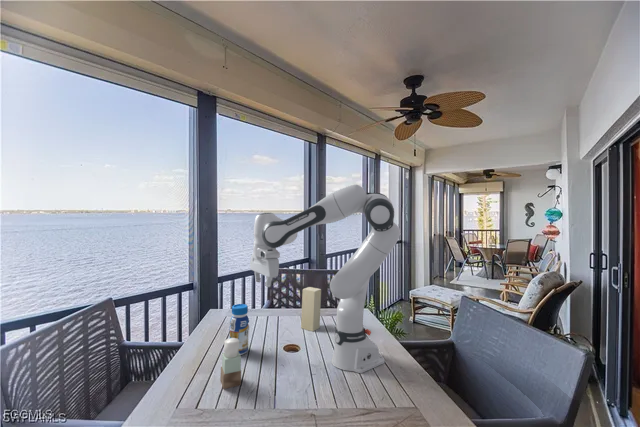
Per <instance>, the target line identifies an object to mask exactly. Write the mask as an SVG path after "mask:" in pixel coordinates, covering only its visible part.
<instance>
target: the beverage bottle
mask: <svg viewBox="0 0 640 427" xmlns="http://www.w3.org/2000/svg"><path fill="white" fill-rule="evenodd" d="M248 310H249V306H248V305H247V304H245V303H237V304H233V305H232V307H231V315H232V316H231V318H230V320H229V329H228V330H229V338H237V339H239V354H240V356H241V355H244V354H247V353H248V351H249V330H250V325H249V323H250V320H249V316H248V312H249V311H248Z"/></svg>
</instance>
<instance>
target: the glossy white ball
mask: <svg viewBox="0 0 640 427" xmlns="http://www.w3.org/2000/svg"><path fill="white" fill-rule="evenodd" d="M223 346H224V348H223V351H224V352H223V353H224V357H226V358H234V357H237V356H238V355H239V339H237V338H230V337H229V338H226V339H225V340H224V345H223Z"/></svg>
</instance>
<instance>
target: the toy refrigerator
mask: <svg viewBox="0 0 640 427" xmlns="http://www.w3.org/2000/svg"><path fill="white" fill-rule="evenodd" d="M321 301H322V289H321V288H317V287H313V286H307V287H305V288H303V289H302V299H301V317H300V318H301V319H300V320H301V321H300V322H301V323H300V326H301V327H300V328H301V329H302V330H306V331H309V332H315V331H317V330H319V329H320V327H321V326H320V325H321V304H322V302H321Z"/></svg>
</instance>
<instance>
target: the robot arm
mask: <svg viewBox="0 0 640 427" xmlns="http://www.w3.org/2000/svg"><path fill="white" fill-rule="evenodd" d="M360 213H361V214H364V217H365V219H366V222H368V224H369V225H370V226H371V227H372V228H371V230H370V232H369V233H368V235H366V237H365V239H364V240H363V241H362V242H361V243H360V245H359V247H358V248H357V249H356V250H355V252H354V253H353V254H352V255H351V257H350V258H348V260H347V261H346V262H345V263H344V264H343V265H342V266H341V268H340V269H339V270H338V271H337V273H336V274H334V276H332V278H331V280H330V283H329V290H330V292H331V295H333V296H334V297H335V298H337V299H339V301H338V302H339V303H338V305H337V307H336V324H335V325H336V326H335V327H334V328H335V330H334V348H333V354H332V357H331V361H330V362H331V364H332V365H333V366H334V367H335V368H338V369H340V370H341V371H343V370H344V371H348V372H349V371H350V372H354V373H357V374H362V373H366V372H367V371H370V370H373V368H376V367H378V366H381V365H383V364H385V361H386V360H385V358H384V357H383V356H382V354H380V352H379V347H378V345H377V344H376V343H375V342H374V341H373V340H371V339H370V338H369V337H368V336H371V334H372V331H371V330H370V329H368V328H365V327H364V311H365V310H364V309H365V303H366V299H367V293H368V286H369V283H370V278H371V277H372V276H373V274H375V273H376V271H377V270H379V268H380V267H381V265H382V264H383V263H384V262H385V260H386V259H387V258H388V256H389V255H390V253H391V252H392V251H393V249H394V247H395V246H396V244H397V243H398V241H399V239H400V236H401V229H400V227H399V226H398V224H396V223H395V222H394V218H395V208H394V205H393V202H392V201H391V200H390V198H388V197H387V195H385V194H383V193H379V192H366V191H365V189H364V188H363V187H362V186H361V185H358V184H352V185H348V186H346V187H342V188H340V189H338V190H336V191H334V192H332V193H330V194H328V195H326V196H325V197H324V198H322V199H320V200H319V201H318V202H316V203H315V204H313V205H312V206H310V207H308V208H307V209H305V210H304V211H301V212H299V213H297V214H295V215H293V216H291V217H289V218H287V219H283V218H280V217H279V216H277V215H276V214H275V213H274V212H264V213H259V214H257V215H256V216H255V218H254V225H253V237H254V238H253V239H254V241H253V244H252V245H253V249H252V254H251V257H250V261H249V262H250V264H249V268H250V270H251V271H253V272H254V273H253V274H254V278H255V282H256V283H261V281H262V277H261V276H265V279H266V281H265V284H264V286H265V287H267V288H271V285H272V284H271V283H272V282H273V279H274V278H277V277H278V275H279V271H280V270H279V268H280V262H279V261H280V260H279V259H280V258H281V256H280V254H281V253H280V251H279V250H277V249H278V248H280V247H282V246H286V245H290V244H291V243H293V242H294V241H295V240H296V239H297V237H298V233H299V232H302V231H303V230H306V229H308V228H310V227H314V226H319V225H326V224H327V225H328V224H331V223H332V224H333V223H336V222H339V221H342V220H344V219H346V218H348V217H350V216H352V215H353V214H360Z"/></svg>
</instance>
